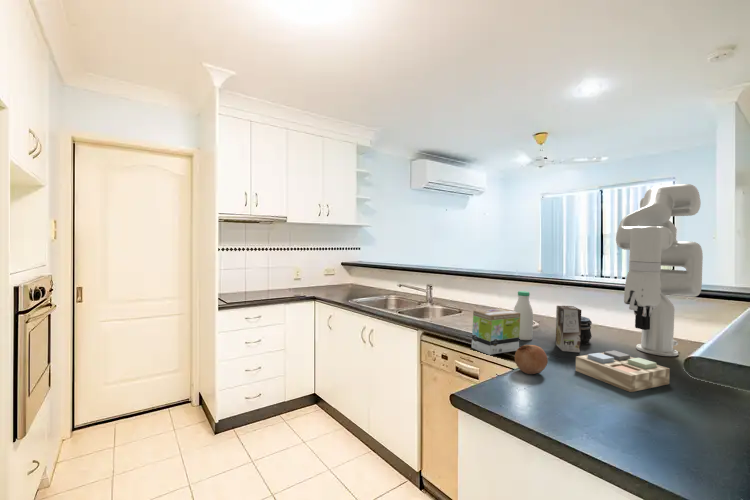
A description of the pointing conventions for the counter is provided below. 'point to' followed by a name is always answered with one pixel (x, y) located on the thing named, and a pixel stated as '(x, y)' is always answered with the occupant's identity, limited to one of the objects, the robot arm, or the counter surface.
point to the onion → (531, 359)
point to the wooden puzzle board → (623, 374)
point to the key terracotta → (625, 369)
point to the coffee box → (568, 328)
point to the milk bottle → (524, 315)
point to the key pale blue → (601, 358)
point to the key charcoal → (617, 355)
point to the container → (585, 331)
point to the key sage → (642, 363)
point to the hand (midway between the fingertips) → (642, 328)
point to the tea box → (495, 331)
